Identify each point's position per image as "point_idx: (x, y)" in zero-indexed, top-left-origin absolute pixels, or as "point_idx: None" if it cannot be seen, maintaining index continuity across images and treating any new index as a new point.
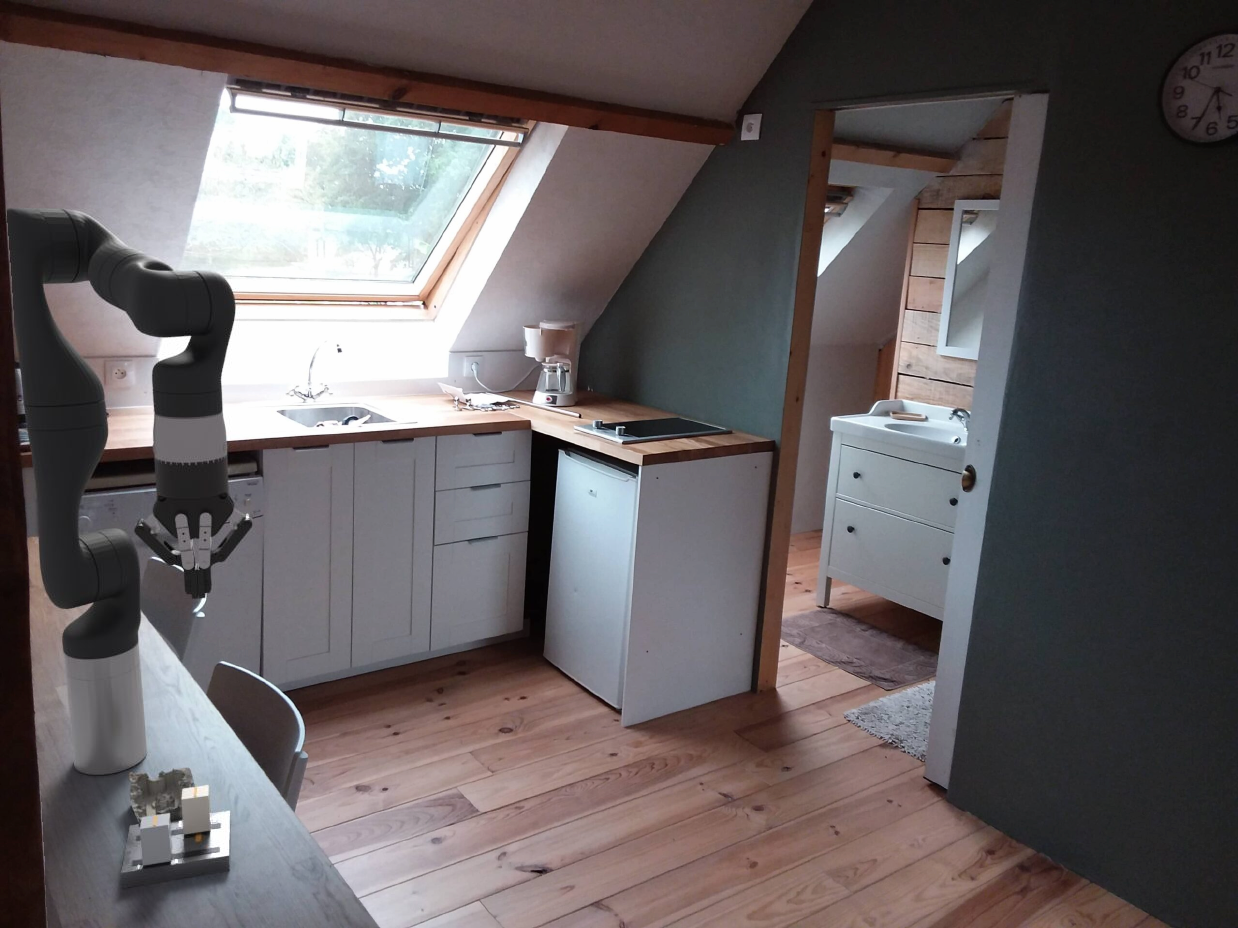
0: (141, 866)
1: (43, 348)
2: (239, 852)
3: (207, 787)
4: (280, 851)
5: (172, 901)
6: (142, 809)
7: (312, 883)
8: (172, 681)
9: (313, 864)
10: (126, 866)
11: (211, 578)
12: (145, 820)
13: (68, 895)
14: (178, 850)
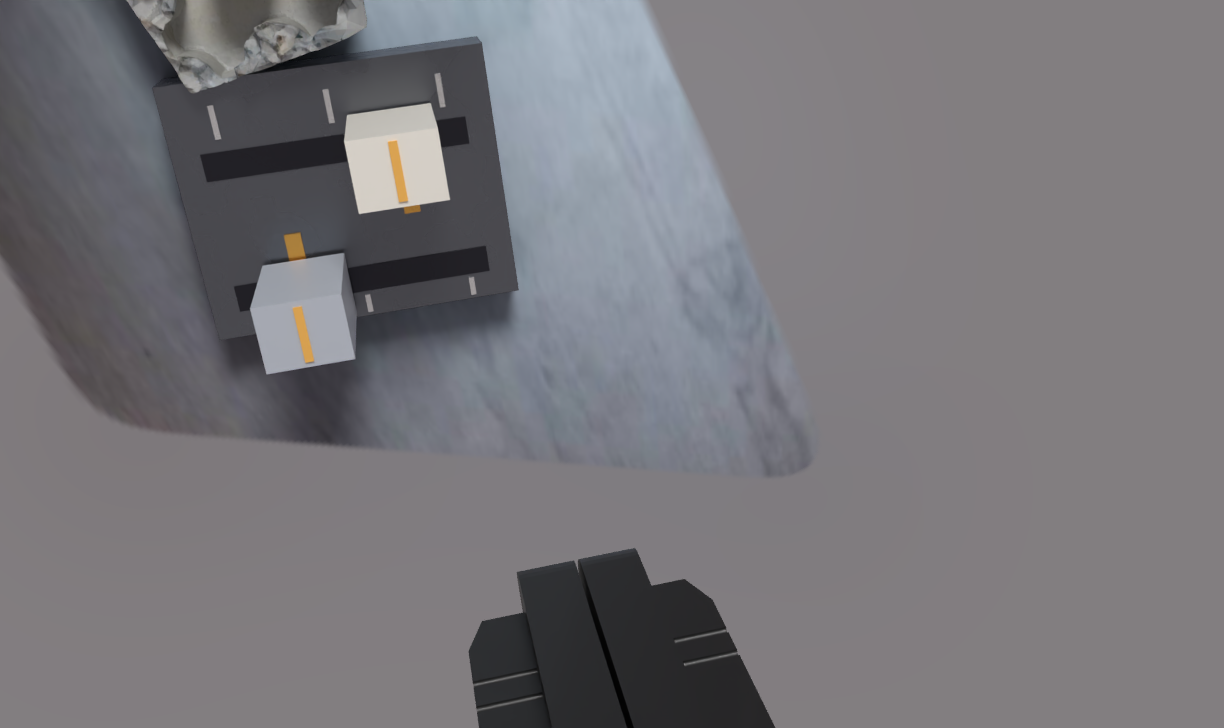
0: None
1: None
2: (527, 194)
3: (435, 144)
4: (645, 204)
5: (384, 388)
6: (169, 14)
7: (734, 352)
8: None
9: (736, 275)
10: (224, 310)
11: (732, 646)
12: (269, 330)
13: (77, 337)
14: (362, 250)
